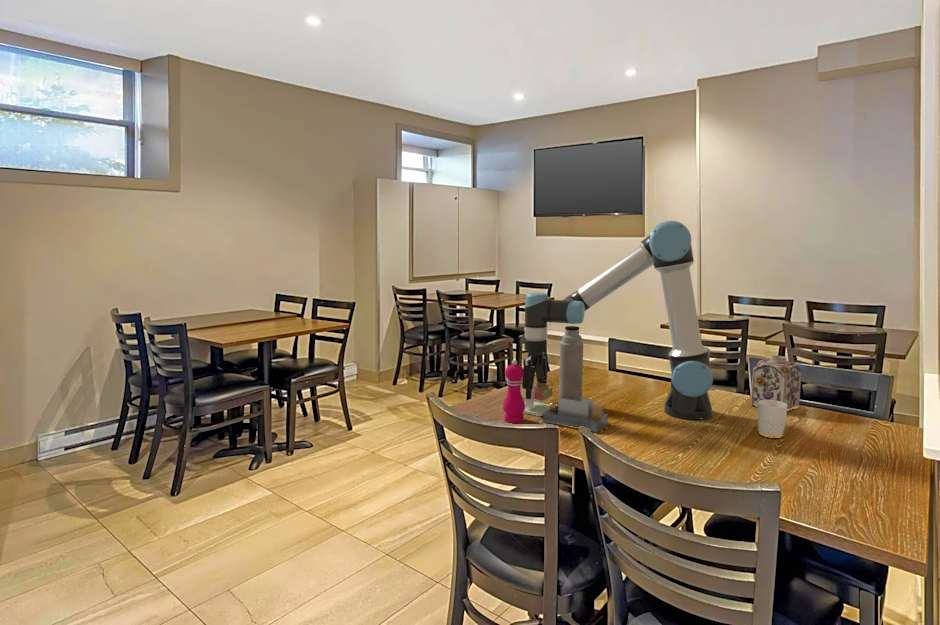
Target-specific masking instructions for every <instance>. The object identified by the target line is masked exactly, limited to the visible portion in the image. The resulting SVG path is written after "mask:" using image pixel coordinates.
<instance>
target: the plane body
mask: <svg viewBox="0 0 940 625" xmlns="http://www.w3.org/2000/svg"><path fill="white" fill-rule="evenodd" d="M549 405H550V409H549V410H548V411H546V412H544V413H543V417H542V423H544V422H547V423H546V424H549V423H553V424H552V425H554V424H557V423H559V424H560V425H562V424H563V425H568V426H573V427H577V428H578V427H580V426H584V427H586V428H588V429H590V430H591V431H593V432H592V433H596V434H597V433H598V432H599V431H600V430H602V429H603V428H605V426H607V425H608V424H609V414H608V413H607V414H606V413H605V405H603V404H599V403H594V399H591V398H584V397H582V398H580V397H574V396H568V395H563V396H561V397H560V398H559V397H558V401H550V402H549Z"/></svg>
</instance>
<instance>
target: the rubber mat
mask: <svg viewBox="0 0 940 625" xmlns="http://www.w3.org/2000/svg"><path fill="white" fill-rule="evenodd" d="M524 403H525V401H524ZM549 409H550V403H549V404H548V403H544V402H543V403H541V402H536V401H534V408H533V409H532V408H527V407H525V410H524V412H523V413H524V414H523V413H522V414H523V415H528V414H531V415H530V416H534V415H538V416H537V417H539V416H543V413H544V412H546V411H548V410H549Z"/></svg>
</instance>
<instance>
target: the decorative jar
mask: <svg viewBox="0 0 940 625" xmlns="http://www.w3.org/2000/svg"><path fill="white" fill-rule="evenodd" d="M751 379H752V380H751V390H750V391H751V392H750V404H751V405H755V406H758V401H760V400H776V401H780V402H784V403H786V404H787V405H788V408H787V409H790V408H792V407H795V406H800V400H801V399H800V397H801V384H802V370H801V368H800V367H799V366H798V365H797V364H796V363H795V362H793V361H790V360H789V361H788V360H787V358H786V356H782V355H771V356H770V359H769V358H768V359H767V358H766V359H762V360H759V361H758V362H757V364H755V366H754V367H753V371H752V378H751ZM751 405H750V406H751Z"/></svg>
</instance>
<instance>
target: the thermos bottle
mask: <svg viewBox="0 0 940 625" xmlns="http://www.w3.org/2000/svg"><path fill="white" fill-rule="evenodd" d="M564 329H565V330H564V334H563V335H562V336H561V337H562V338H561V341H560V342H559V371H558V372H559V373H558V374H559V377H558V380H559V381H558V383H559V385H558V399H559V398H560V397H561V396H563V395H568V396H574V397H580V398H583V375H584V374H583V371H584V370H583V368H584V360H583V359H584V342H582V335H580V326H576V325H566V326H565V327H564Z"/></svg>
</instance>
